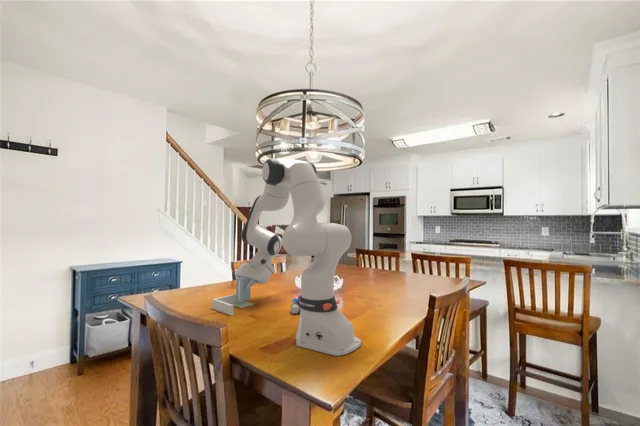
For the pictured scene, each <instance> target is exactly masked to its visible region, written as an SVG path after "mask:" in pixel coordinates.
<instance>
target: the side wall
mask: <svg viewBox="0 0 640 426" xmlns="http://www.w3.org/2000/svg"><path fill="white" fill-rule="evenodd" d="M213 299H214V300H213V310H214V311H218V312H220V313H223V314H225V315H229V316H234V307H235V306H234V305H232V304H229V303H226V302H223V301H220V300H217V299H215V298H213Z"/></svg>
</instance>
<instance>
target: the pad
mask: <svg viewBox="0 0 640 426" xmlns="http://www.w3.org/2000/svg"><path fill="white" fill-rule="evenodd" d="M232 305H234V307H237V308H240V309H243V308H246V307H251V306H253V305H254V306H255V304H254V303H251V302H248V301H246V300H245V301H243V302H239V303H235V304H232Z"/></svg>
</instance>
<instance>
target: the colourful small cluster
mask: <svg viewBox="0 0 640 426" xmlns="http://www.w3.org/2000/svg"><path fill="white" fill-rule="evenodd" d="M300 295H301V294H298V296H297V298H296V297H293V298H292V303H291V304H290V306H289V307H290V312H291V313H292V314H294V315H298V314H300V306H299V300H300Z"/></svg>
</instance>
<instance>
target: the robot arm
mask: <svg viewBox="0 0 640 426" xmlns="http://www.w3.org/2000/svg"><path fill="white" fill-rule="evenodd" d="M261 173H262V179H263V181H264V182H265V185H264V190H263V192H262V194H261V195H260V194H259V195H258V196H257V197H256V198H255V200H254V201H253V204H252V206H251V209H250V211H249V214H248V216H247V219H246V222H245V225H244V227H243V228H242V230H241V232H240V237H241V241H242V242H243V243H244V244H246V245H249V246H252V247H253V248H256V249H258V251H256V252H255V254H254V255H253V256H252V258H251V259H250V260H249V261H246V262H243V263H242V264H241V265H240V266H239V267H238V268H237V269H236V270H234V271H235V272H234V276H235V277H236V278H242V277H245V278H250V279H251V282H250V283H249V284H246V286H245V289H247V290H249V289H250V290H251V288H252V287H253V286H254V285H256V284H260V285H265V284H266V283H267V282H268V281H269V279H270V278H271V276H272V274H273V273H274V272H275V268H274V266H273V265H272V262H273V260H274V259H275V258H276V257H277V256H278V254H279V252H280V251H281V248H282V247H283V250H284V251H285V252H286V253H287V254H288V255H290V256H295V257H296V256H297V257H312V256H313V259H312V262H311V263H310V265H309V266H307V267H306V268H305V269H303V271H302V273H301V274H300V275H301V277H300V279H301V280H300V281H301V282H300V284H301V285H300V294H299V295H300V300H299V306H300V311H299V318H298V325H297V330H296V334H295V337H294V338H295V345H296V346H297V347H300V348H304V349H308V350H312V351H316V352H320V353H322V354H323V353H324V354H327V355H331V356H335V357H336V356H338V357H340V356H344V355H348V354H349V353H353V352H354V351H356V350H357V349H358V348H360V347H361V345H362V340H361V339H360V338H358V337H357V336H355V330H354V326H353V324H352V322H351V321H350V320H349V319H348V318H347V317H346V316H345V315H344V314H343V313H342V311H341V310H339V307H338V305H340V304H341V303H340V301H341V300H336V297H335V294H334V290H335V289H334V287H335V275H336V270H337V266H338V264H339V262H340V259H341V258H342V257H343V255H344V254H345V252H347V251H348V250H349V249H350V247H351V244H352V241H353V238H352V233H351V231H350V229H349V227H347V226H346V225H344V224H339V223H336V222H319V221H318V219H317V216H318V215H319V214H320V213H321V212H322V211H323V210H324V207H325V203H326V202H325V199H324V195H323V192H322V188H321V185H320V181H319V178H318V172H317V168H316V166H315V164H314V163H313V162H311V161H308V160H301V159H295V158H294V159H293V158H276V157H272V158H267V159H266V160H265V161H264V163H263V165H262V169H261ZM289 197H291V202H292V206H293V217H292V220H291V222H290V224H289V225H288V226H287V227H286V228H285V229H284V231H283V233H282V237H281V236H279V235H278V234H276V233H275V232H273V231H270V230H268V229H266V228H264V227H261V226H260V225H259V224H258V222H259V220H260V217H261V215H262V212H277V211H279V210H282V209H284V208H285V207H286V205H287V204H288V201H289Z"/></svg>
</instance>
